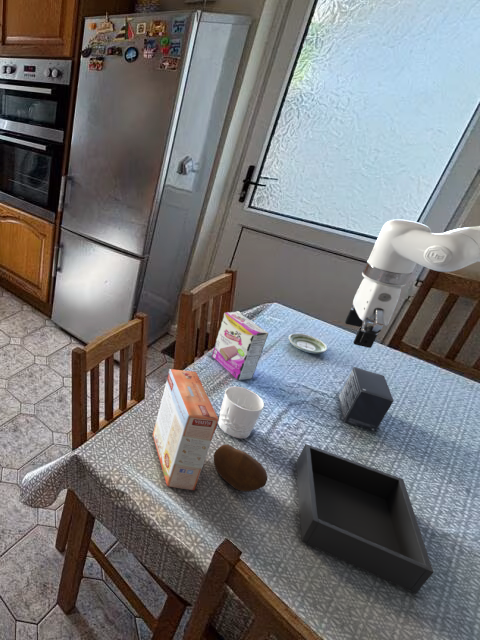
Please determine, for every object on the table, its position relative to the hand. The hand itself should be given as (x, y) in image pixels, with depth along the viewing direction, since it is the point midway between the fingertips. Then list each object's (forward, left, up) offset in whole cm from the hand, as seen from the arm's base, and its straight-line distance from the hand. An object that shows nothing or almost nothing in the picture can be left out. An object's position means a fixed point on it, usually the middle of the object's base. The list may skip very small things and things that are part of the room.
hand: (357, 334), depth 101 cm
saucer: (+3, -23, -21) cm, 31 cm away
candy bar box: (+22, 0, -21) cm, 31 cm away
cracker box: (+31, +43, -21) cm, 57 cm away
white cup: (+20, +25, -21) cm, 39 cm away
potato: (+19, +41, -21) cm, 50 cm away
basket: (0, +39, -21) cm, 44 cm away
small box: (-6, +3, -21) cm, 22 cm away
